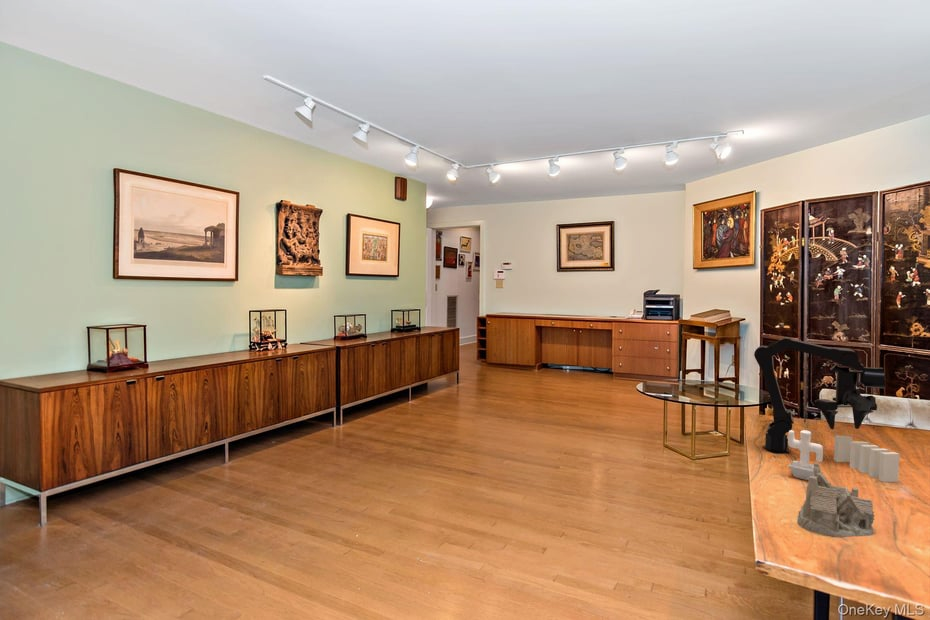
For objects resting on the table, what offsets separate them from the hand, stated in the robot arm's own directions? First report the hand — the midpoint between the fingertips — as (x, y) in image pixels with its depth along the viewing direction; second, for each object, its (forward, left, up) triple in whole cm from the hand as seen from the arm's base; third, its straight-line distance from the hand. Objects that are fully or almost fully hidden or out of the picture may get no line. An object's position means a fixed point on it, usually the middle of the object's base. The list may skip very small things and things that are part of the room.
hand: (844, 428), depth 176 cm
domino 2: (0, -7, -12) cm, 13 cm away
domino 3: (0, -10, -12) cm, 16 cm away
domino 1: (0, 0, -12) cm, 12 cm away
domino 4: (0, -14, -12) cm, 18 cm away
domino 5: (0, -18, -12) cm, 21 cm away
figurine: (-25, -14, -12) cm, 31 cm away
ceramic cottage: (-42, -46, -12) cm, 63 cm away
